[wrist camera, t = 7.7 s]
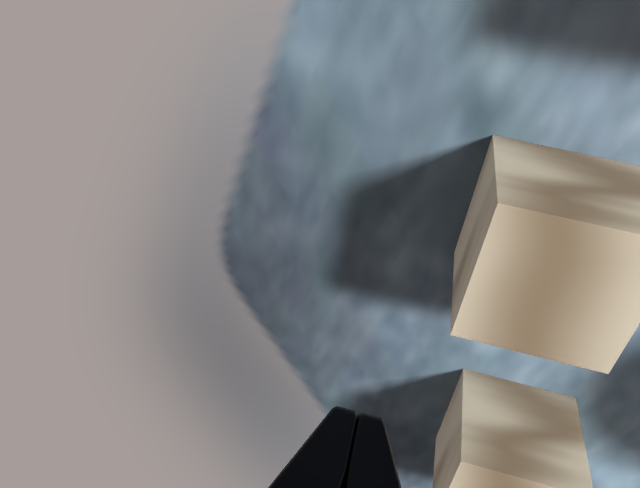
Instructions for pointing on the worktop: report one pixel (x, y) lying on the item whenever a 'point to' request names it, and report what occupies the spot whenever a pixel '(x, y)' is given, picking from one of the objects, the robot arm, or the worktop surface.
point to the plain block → (550, 255)
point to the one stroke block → (509, 437)
